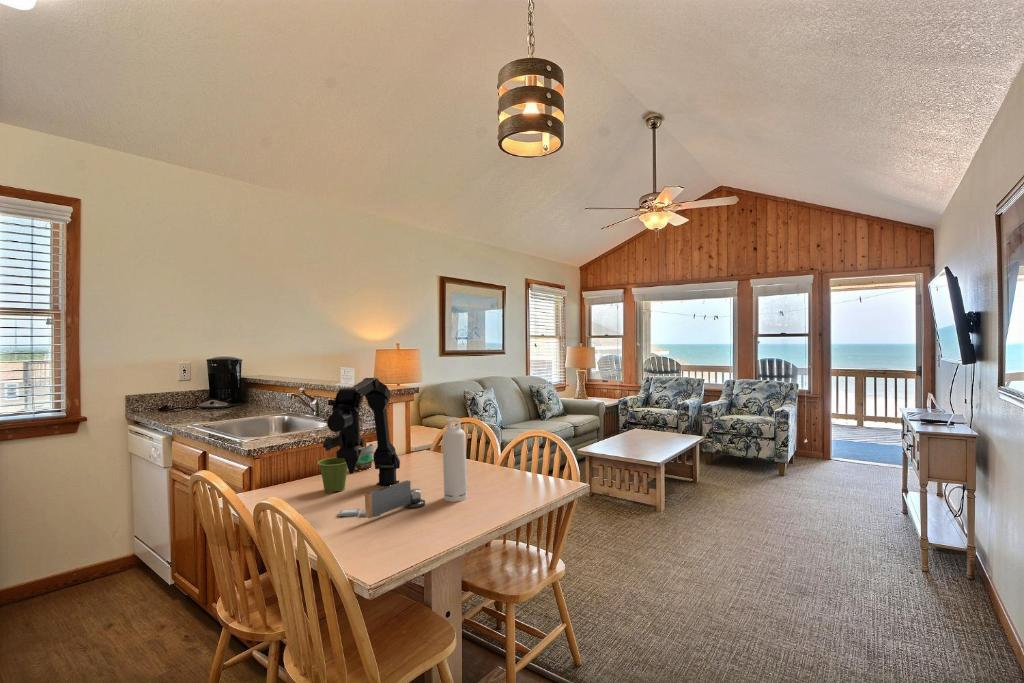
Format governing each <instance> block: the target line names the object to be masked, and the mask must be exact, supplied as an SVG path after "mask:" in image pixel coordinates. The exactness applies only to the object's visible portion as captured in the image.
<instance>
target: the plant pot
mask: <svg viewBox="0 0 1024 683" xmlns="http://www.w3.org/2000/svg"><path fill="white" fill-rule="evenodd" d="M317 464H318V466H319V470H320V474H321V478H322V479H321V480H322V484H323V490H324V492H325V493H329V492H333V493H335V492H336V491H340V492H342V491H344V490H345V488H346V481H347V475H348V467H347V463H346V460H345V459H344V458H339V459H338V458H336V457H330V458H329V457H327V458H324V459H321V460H318V461H317ZM343 489H344V490H343ZM341 490H342V491H341ZM336 493H337V492H336Z"/></svg>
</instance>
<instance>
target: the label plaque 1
mask: <svg viewBox="0 0 1024 683" xmlns="http://www.w3.org/2000/svg"><path fill="white" fill-rule="evenodd" d="M360 510H361V508H350V509H340V511H339V513H338V518H341V517H340V516H348V517H356V516H355V515H358V514H359V515H360V512H359V511H360ZM353 515H354V516H353ZM359 515H358V516H359Z"/></svg>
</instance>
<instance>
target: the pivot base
mask: <svg viewBox="0 0 1024 683" xmlns="http://www.w3.org/2000/svg"><path fill="white" fill-rule="evenodd" d="M425 506H426V500H425V499H423V498H421V501H420V502H418V503H410V504H407V505H405V506H404V508H405V509H410V510H411V509H415V510H416V509H419V508H423V507H425Z"/></svg>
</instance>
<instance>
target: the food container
mask: <svg viewBox="0 0 1024 683" xmlns="http://www.w3.org/2000/svg"><path fill="white" fill-rule="evenodd" d="M358 450H361V453H360V456H359V459H358V461H357V464H356V467H355V470H354V472H360V471H359V470H365V471H367V470H366V469H369V468H371V467H372V465H373V453H374V451H375V448H374V445H373V443H369V445H367V446H363V447H361V446H359V447H358ZM372 468H373V467H372ZM372 468H371V469H372ZM369 470H370V469H369Z"/></svg>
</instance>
